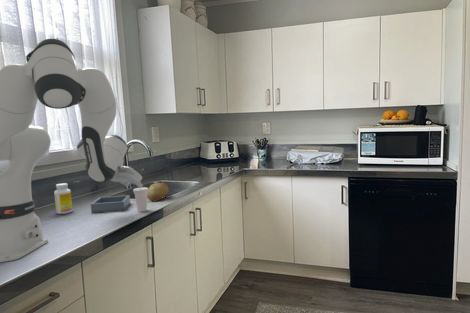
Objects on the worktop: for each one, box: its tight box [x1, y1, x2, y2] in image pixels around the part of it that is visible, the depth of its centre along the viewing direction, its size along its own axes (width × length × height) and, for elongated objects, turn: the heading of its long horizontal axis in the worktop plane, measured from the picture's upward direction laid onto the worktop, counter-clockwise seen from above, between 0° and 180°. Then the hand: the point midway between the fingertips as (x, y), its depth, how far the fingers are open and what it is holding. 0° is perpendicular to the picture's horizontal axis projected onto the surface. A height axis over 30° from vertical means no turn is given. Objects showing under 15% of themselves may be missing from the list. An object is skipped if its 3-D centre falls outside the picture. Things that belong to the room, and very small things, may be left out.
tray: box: [90, 194, 131, 214], centre depth 159 cm, size 14×14×4 cm
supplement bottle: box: [53, 182, 74, 215], centre depth 155 cm, size 7×7×13 cm
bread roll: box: [147, 182, 169, 202], centre depth 175 cm, size 10×15×8 cm, turn 172°
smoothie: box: [132, 186, 149, 213], centre depth 152 cm, size 6×6×14 cm
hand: (134, 185), depth 148 cm, fingers open, 8 cm apart
